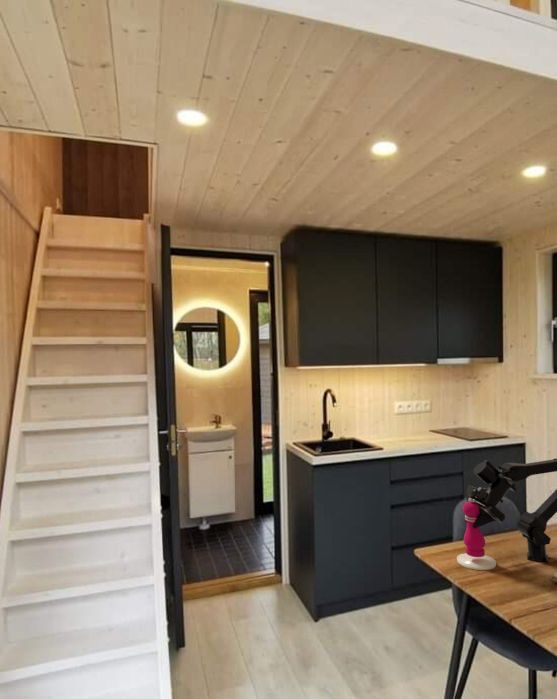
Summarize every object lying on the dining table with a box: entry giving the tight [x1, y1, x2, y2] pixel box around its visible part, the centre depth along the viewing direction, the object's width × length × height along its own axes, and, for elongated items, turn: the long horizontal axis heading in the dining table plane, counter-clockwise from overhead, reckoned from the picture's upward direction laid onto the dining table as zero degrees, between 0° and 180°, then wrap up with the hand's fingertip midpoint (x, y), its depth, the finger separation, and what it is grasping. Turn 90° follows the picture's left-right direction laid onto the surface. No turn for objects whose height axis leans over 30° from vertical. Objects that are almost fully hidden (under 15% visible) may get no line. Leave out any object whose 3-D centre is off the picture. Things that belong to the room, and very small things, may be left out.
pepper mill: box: [462, 498, 486, 557], centre depth 156 cm, size 7×7×20 cm
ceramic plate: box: [456, 552, 497, 571], centre depth 155 cm, size 13×13×1 cm
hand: (469, 525), depth 156 cm, fingers closed on pepper mill, 5 cm apart
